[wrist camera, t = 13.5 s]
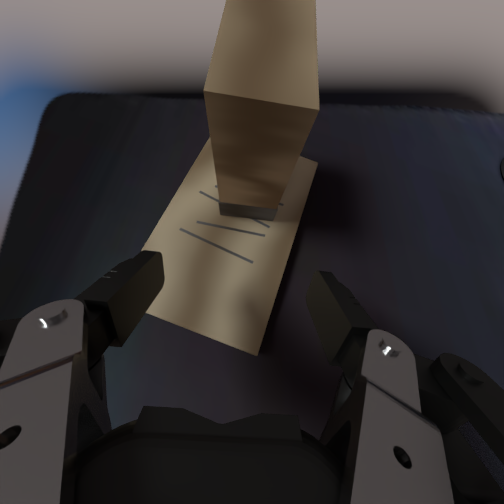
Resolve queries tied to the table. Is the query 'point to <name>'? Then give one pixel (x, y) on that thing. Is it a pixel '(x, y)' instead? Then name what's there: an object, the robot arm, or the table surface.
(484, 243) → the table surface
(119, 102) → the table surface
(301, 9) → the block
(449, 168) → the table surface
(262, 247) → the board
